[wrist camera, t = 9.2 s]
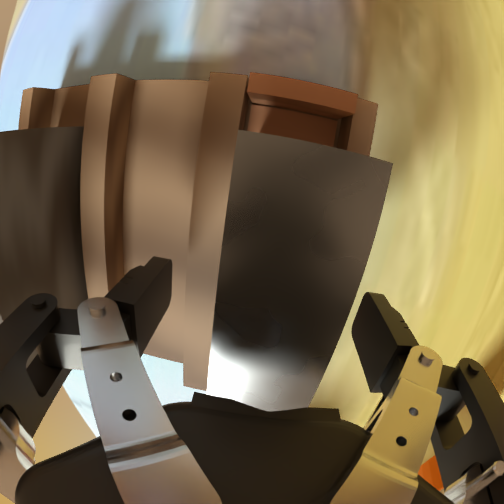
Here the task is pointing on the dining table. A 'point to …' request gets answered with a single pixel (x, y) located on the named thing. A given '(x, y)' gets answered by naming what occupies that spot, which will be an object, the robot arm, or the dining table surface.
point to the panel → (289, 265)
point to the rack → (146, 187)
